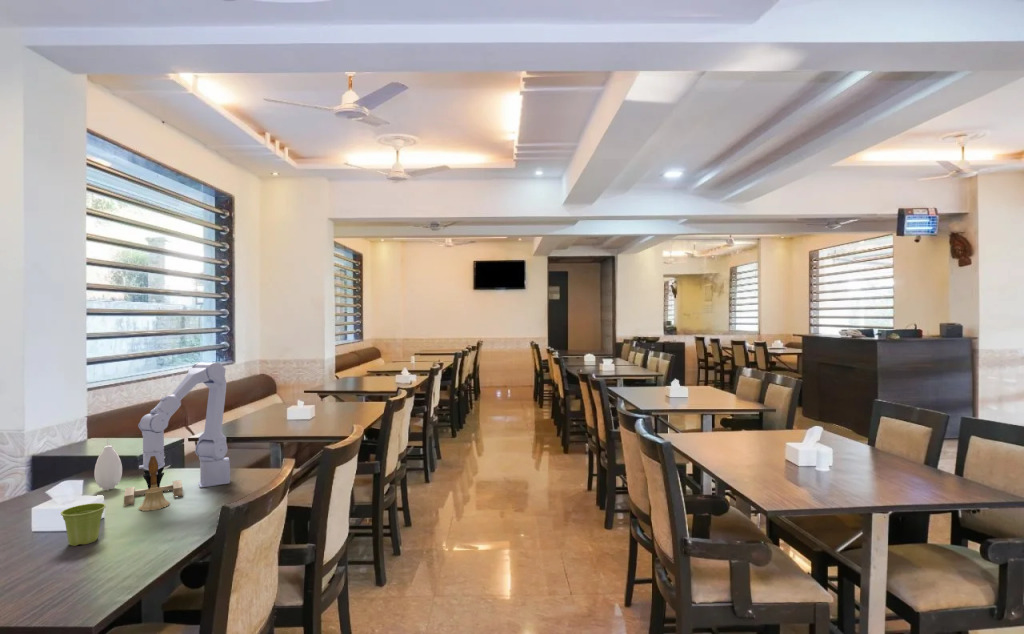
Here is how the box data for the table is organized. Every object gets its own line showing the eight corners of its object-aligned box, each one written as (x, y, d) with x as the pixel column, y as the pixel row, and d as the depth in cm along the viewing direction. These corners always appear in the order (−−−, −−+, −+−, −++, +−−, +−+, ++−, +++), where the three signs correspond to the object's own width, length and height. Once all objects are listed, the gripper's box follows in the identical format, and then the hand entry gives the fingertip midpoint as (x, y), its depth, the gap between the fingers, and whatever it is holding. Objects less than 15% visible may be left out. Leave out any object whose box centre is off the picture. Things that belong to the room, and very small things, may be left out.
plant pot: (114, 536, 147) (114, 504, 147) (76, 550, 138) (76, 516, 139) (90, 533, 150) (90, 501, 151) (52, 546, 141) (51, 513, 142)
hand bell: (158, 511, 168) (158, 459, 169) (132, 511, 168) (131, 459, 169) (175, 502, 177) (175, 452, 177) (149, 503, 177) (149, 453, 177)
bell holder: (181, 488, 193) (181, 479, 193) (182, 496, 183) (182, 487, 183) (125, 497, 184) (125, 488, 184) (124, 505, 174) (124, 496, 174)
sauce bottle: (90, 491, 192) (90, 439, 192) (116, 485, 198) (115, 435, 199) (100, 494, 188) (100, 441, 188) (126, 488, 194) (125, 437, 195)
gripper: (139, 448, 182) (139, 489, 182) (138, 456, 170) (138, 500, 170) (164, 445, 186) (164, 485, 186) (165, 453, 174) (165, 496, 174)
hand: (154, 492), depth 178 cm, fingers open, 6 cm apart
